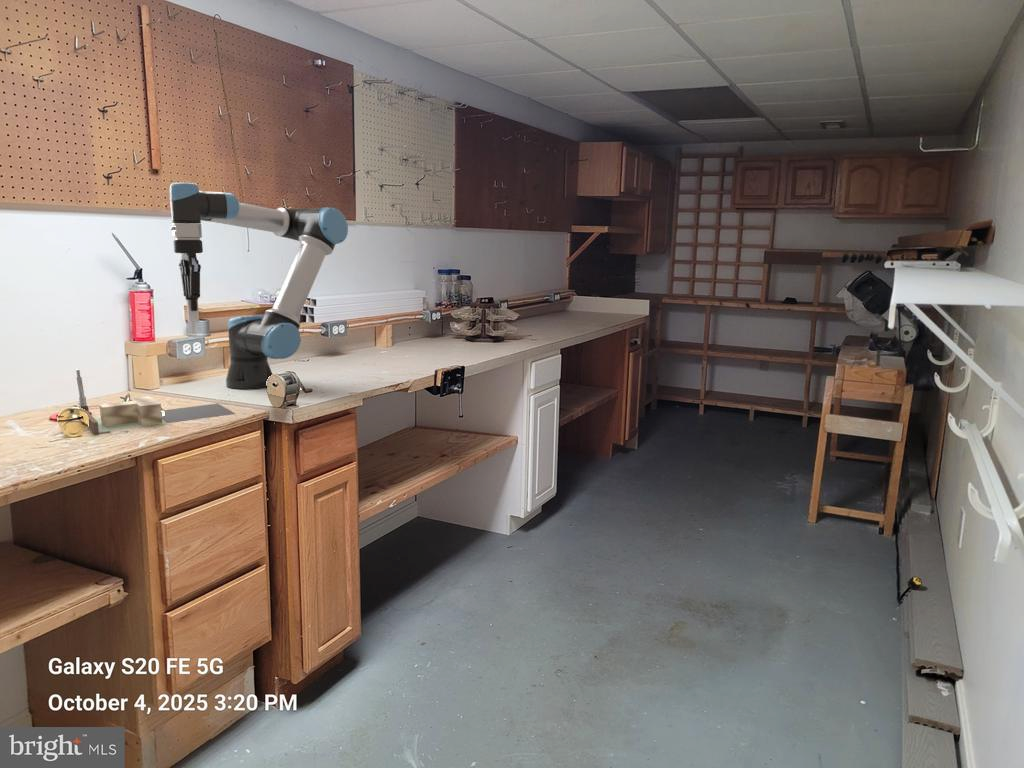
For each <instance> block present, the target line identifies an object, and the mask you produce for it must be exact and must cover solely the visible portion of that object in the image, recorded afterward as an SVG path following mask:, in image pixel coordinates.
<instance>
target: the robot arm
mask: <svg viewBox="0 0 1024 768" xmlns="http://www.w3.org/2000/svg"><path fill="white" fill-rule="evenodd" d="M169 202H170V213H171V225H172V226H171V227H170V230H171V231H172V236H173V238H174V240H173V253H175V254H181V259H180V261H179V264H178V267H179V270H180V271H179V272H180V278H181V284H182V285H181V286H182V288H183V289H182V292H183V297H185V301H186V310H187V322H188V323H200V314H199V313H200V311H199V298H200V297H201V268H202V266H201V264H200V263H199V260H198V259H197V257H198V256H197V254H202V253H203V252H204V247H203V241H202V240H201V239H202V238H203V230H202V222H201V221H205V222H209V223H210V222H211V223H217V224H224V225H229V226H234V227H238V228H239V227H241V228H247V229H252V230H258V231H264V232H269V233H273V234H274V235H275V236H277V237H281V238H286V239H290V240H294V241H297V242H299V243H300V245H299V247H298V248H299V249H298V250H297V251H296V254H295V257H294V259H293V262H292V263H291V266H290V267H289V270H288V272H287V275H286V277H285V278H284V282H283V283H282V285H281V288H280V291H279V292H278V295H277V297H276V299H275V302H274V303H273V305H272V308H269V309H266V310H265V311H264V313H263V314H258V315H249V316H248V315H247V316H238V317H230V319H228V321H227V322H228V323H227V331H228V343H229V344H228V345H229V359H230V364H229V366H228V370H227V375H226V379H225V385H226V387H227V388H230V389H239V390H241V389H242V390H247V389H248V390H250V389H251V390H252V389H260V388H261V389H263V388H266V387H265V386H266V381H267V379H268V377H269V376H271V375H273V376H274V374H273V372H272V369H271V367H270V364H269V362H268V358H269V359H270V360H271V359H274V360H284V359H288V358H290V357H292V356H293V355H294V354H295V353H296V352H298V350H299V348H300V345H301V341H302V338H301V333H300V327H301V324H300V322H299V317H300V316H301V313H302V310H303V308H304V306H305V304H306V301H307V298H308V297H309V294H310V292H311V290H312V288H313V284H315V280H316V279H317V276H318V274H319V272H320V269H321V267H322V265H323V263H324V261H325V258H326V256H330V255H332V253H333V251H334V249H335V246H336V245H337V244H342V243H343V242H344V241H345V240H346V239H347V236H348V235H349V226H348V223H347V219H346V216H345V215H344V214H343V212H342V211H340V209H337V208H336V207H328V206H323V207H302V208H301V207H300V208H285V207H277V208H275V209H274V208H270V207H265V206H259V205H256V204H255V205H254V204H250V203H243V202H240V201H239V199H238V198H237V196H236V195H235V194H233V193H230V192H225V191H223V192H221V191H219V192H218V191H203V190H200V188H199V185H198V184H197V183H194V182H173V183H171V184H170V185H169Z"/></svg>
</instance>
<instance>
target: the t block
mask: <svg viewBox="0 0 1024 768" xmlns="http://www.w3.org/2000/svg"><path fill="white" fill-rule="evenodd" d="M161 410H162V404H161V402H159V401H157V400H156V399H154V398H153V397H151V396H150V395H147V396H137V397H130V398H129V401H121V402H111V403H104V404H99V412H100V414H99V415H100V418H101V423H102V424H103V425H104V426H112V425H119V424H127V423H134V422H139V423H140V424H141V425H145V424H153V423H160V422H162V412H161Z"/></svg>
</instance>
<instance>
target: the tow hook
mask: <svg viewBox="0 0 1024 768" xmlns="http://www.w3.org/2000/svg"><path fill="white" fill-rule="evenodd" d="M80 371H81V370H80V369H77V368H76V382H77V389H78V395H79V397H78V400H79V401H78V402H79V408H80V407H81V408H83V409H85V410H87V411H88V412H89V414H90V415H91V416H92V412H91V411H90V410H89V406H88V405H87V397H86V395H85V391H84V385H83V384H84V383H83V378H82V376H81V372H80ZM59 413H60V412H56V413H53V414H51V415H50V416H49V420H50V421H52V420H54V421H53V422H58V421H57V418H58V417H57V416H58V414H59Z"/></svg>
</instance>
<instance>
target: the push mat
mask: <svg viewBox="0 0 1024 768" xmlns="http://www.w3.org/2000/svg"><path fill="white" fill-rule="evenodd" d="M163 410H164V411H165V416H163V417H162V422H160V423H153V424H145V425H141V424H140V423H139V422H134V423H127V424H119V425H112V426H104V425H103V424H102V423H101V417H98V418H94V416H92V415H90V414H89V412H90V411H89V412H88V411H87V410H85V411H86V412H87V414H88V417H89V428H88V429H89V430H90V431H91V432H92V434H93V435H100V434H106V433H108V434H109V433H111V432H113V431H118V430H121V431H122V430H126V429H127V430H128V429H135V428H140V427H141V428H142V427H150V426H156V425H162V424H163V425H165V424H170V423H178V422H187V421H193V420H200V419H201V420H202V419H208V418H214V417H215V418H216V417H222V416H223V417H224V416H229V415H236V413H235V412H233V411H232V410H230V409H228V408H226V407H225V406H223V405H221V404H220V403H218V402H217V403H211V404H210V403H209V404H201V405H195V406H194V405H193V406H186V407H178V408H170V409H163Z"/></svg>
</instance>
